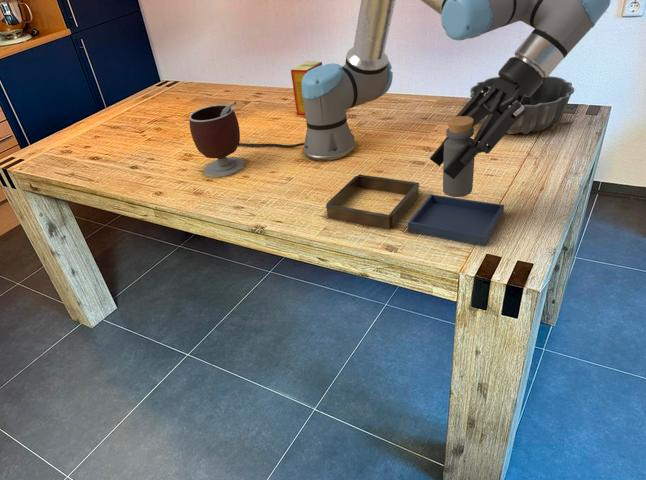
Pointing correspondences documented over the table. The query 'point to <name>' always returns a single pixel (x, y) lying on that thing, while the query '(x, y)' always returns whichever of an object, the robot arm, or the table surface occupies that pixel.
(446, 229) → the tray
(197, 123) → the mate gourd
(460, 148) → the bottle
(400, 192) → the dark brown square frame
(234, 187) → the table surface
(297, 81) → the baking soda box
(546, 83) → the bundt pan
